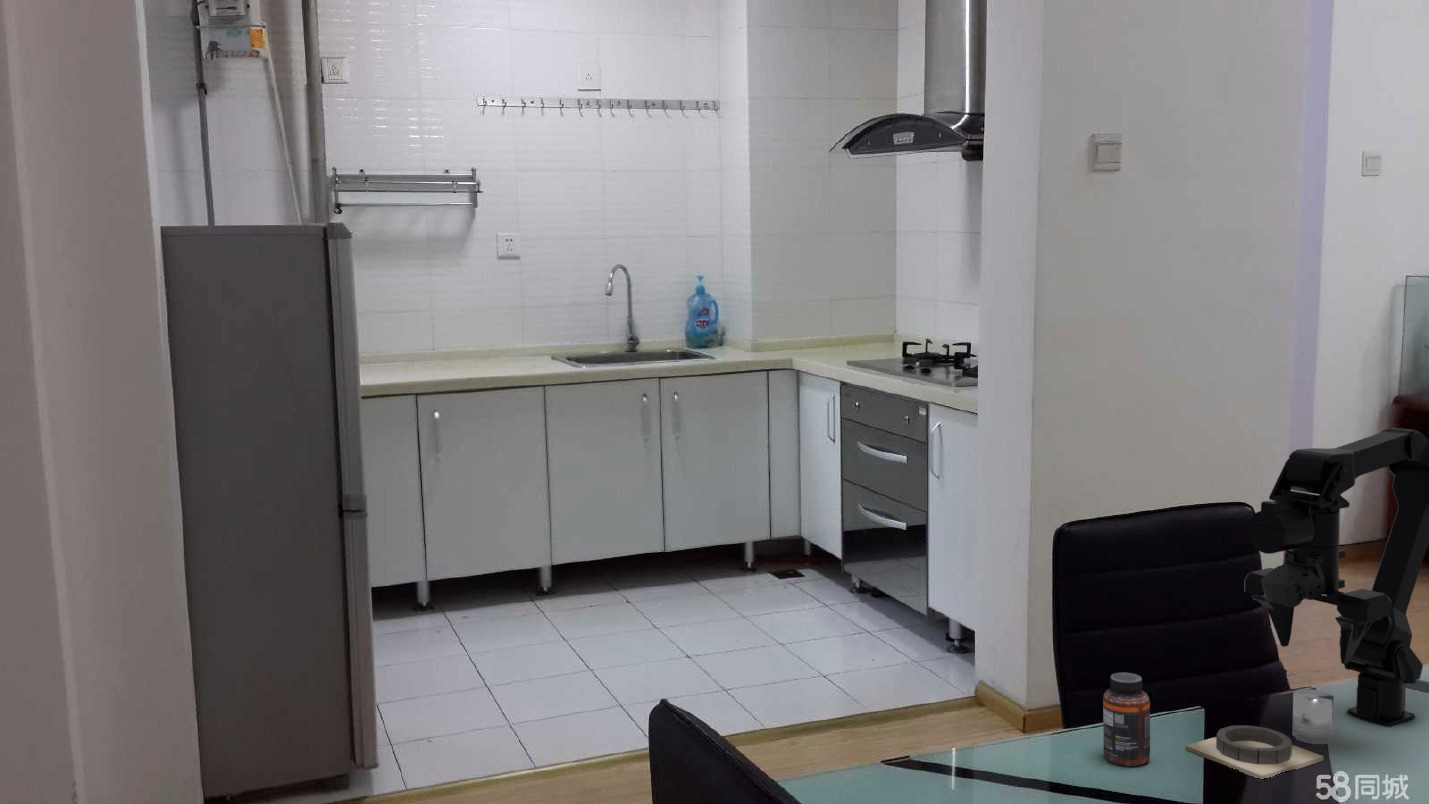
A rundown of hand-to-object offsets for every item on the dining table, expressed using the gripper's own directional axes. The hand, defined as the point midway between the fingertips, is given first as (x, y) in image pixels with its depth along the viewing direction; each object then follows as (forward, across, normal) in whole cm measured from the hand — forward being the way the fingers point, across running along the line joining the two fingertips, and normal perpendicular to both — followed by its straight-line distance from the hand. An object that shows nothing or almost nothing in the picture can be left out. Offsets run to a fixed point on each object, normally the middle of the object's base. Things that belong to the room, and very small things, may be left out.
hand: (1314, 654), depth 171 cm
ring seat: (+12, 0, -12) cm, 17 cm away
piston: (+12, 0, 0) cm, 12 cm away
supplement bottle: (+12, -8, -27) cm, 31 cm away
